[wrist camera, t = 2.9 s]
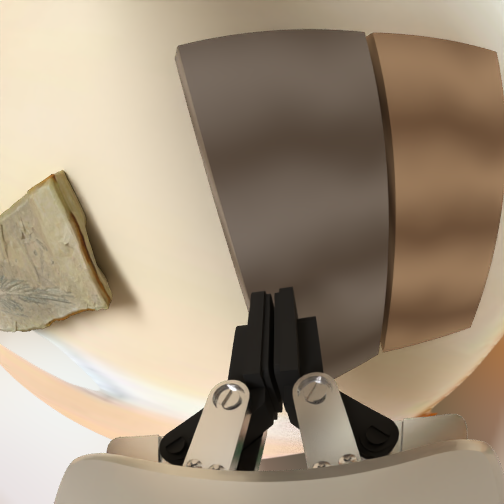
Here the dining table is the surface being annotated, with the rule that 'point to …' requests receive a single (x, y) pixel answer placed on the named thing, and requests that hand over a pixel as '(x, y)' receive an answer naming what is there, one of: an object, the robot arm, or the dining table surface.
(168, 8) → the dining table surface
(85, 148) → the dining table surface
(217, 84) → the smoked oak plank
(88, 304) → the stone slab
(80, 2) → the dining table surface
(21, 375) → the dining table surface
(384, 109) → the walnut board
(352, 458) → the robot arm
